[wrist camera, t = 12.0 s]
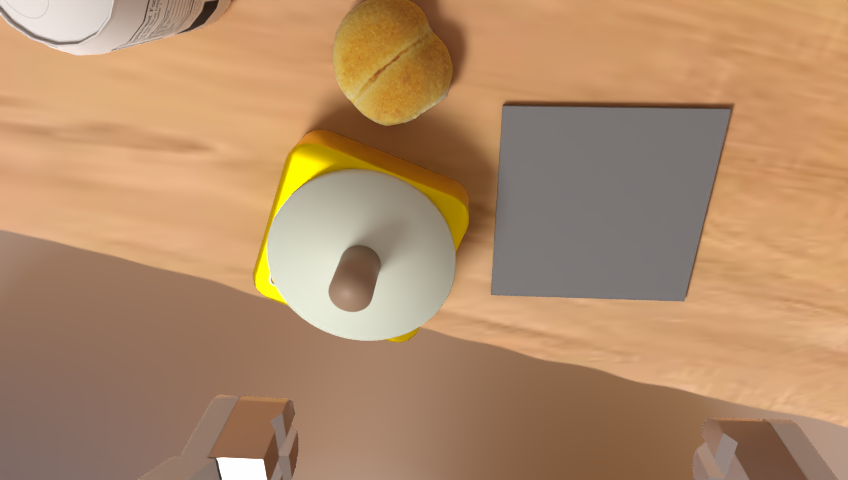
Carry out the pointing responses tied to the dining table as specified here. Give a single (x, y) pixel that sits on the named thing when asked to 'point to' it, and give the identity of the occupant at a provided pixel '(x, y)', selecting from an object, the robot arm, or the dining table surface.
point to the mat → (603, 199)
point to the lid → (361, 254)
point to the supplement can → (107, 21)
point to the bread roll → (390, 61)
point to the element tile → (338, 153)
